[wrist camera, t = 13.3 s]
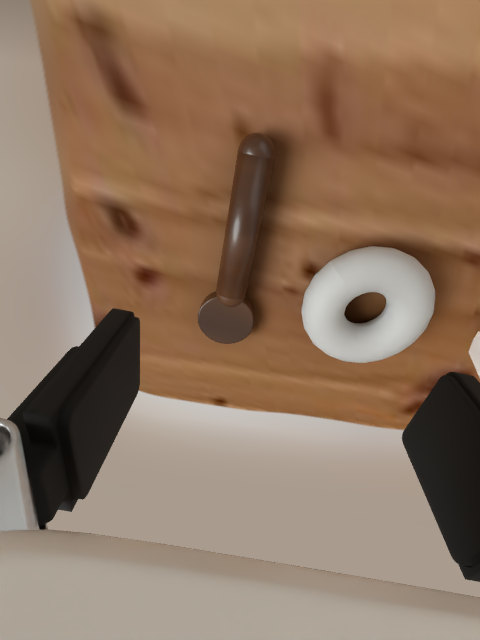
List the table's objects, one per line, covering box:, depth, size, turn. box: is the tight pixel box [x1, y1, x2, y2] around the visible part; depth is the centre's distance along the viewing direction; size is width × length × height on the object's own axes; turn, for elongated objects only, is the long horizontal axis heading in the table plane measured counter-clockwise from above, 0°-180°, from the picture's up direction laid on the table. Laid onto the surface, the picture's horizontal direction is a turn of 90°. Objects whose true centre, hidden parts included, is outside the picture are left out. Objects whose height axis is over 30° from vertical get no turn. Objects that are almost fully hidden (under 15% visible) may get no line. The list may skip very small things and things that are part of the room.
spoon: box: [198, 133, 275, 344], centre depth 24 cm, size 16×5×2 cm, turn 170°
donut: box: [301, 246, 435, 363], centre depth 25 cm, size 10×4×10 cm
